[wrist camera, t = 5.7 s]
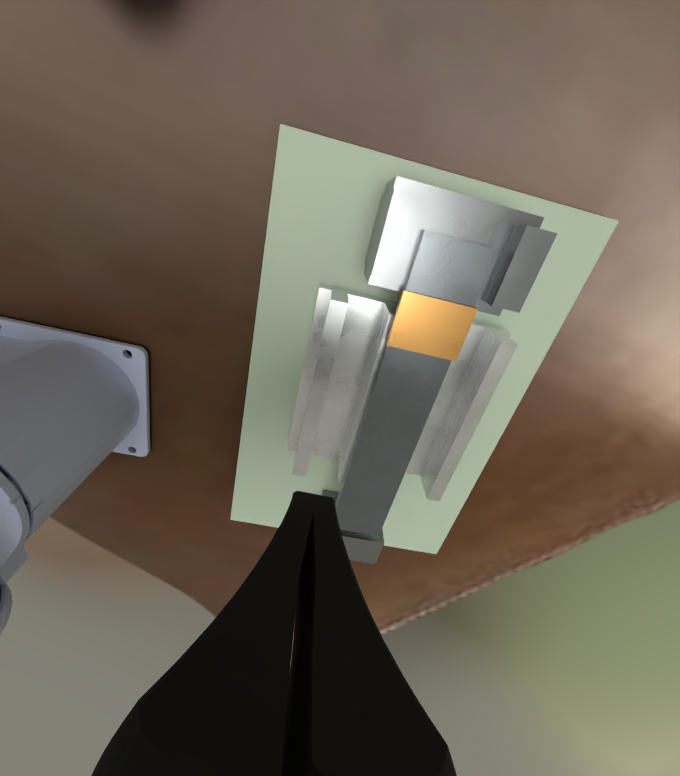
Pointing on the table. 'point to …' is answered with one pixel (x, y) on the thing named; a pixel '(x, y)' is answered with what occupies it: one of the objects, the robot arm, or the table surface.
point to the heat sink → (356, 377)
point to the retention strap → (411, 373)
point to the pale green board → (346, 270)
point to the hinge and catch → (461, 221)
